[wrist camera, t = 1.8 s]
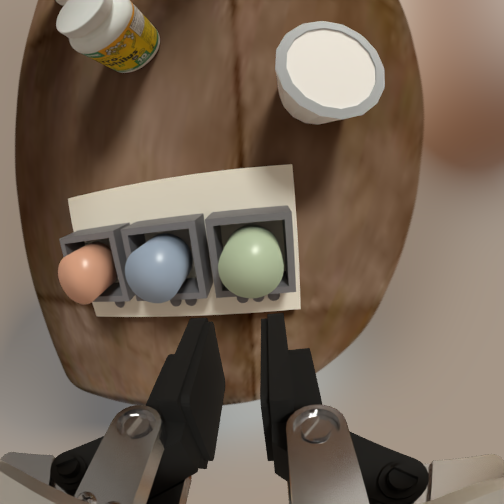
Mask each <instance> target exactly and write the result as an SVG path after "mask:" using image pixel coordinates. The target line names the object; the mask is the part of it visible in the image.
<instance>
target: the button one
mask: <svg viewBox="0 0 504 504" xmlns="http://www.w3.org/2000/svg"><path fill="white" fill-rule="evenodd" d="M58 277H59V281H60V284H61V286H62V288H63V290H64V292H65V293H66V294H67V295H68V296H69V297H70V298H71V299H72V300H73V301H75V302H77V303H80V304H89V303H91V302H93V301H94V300H95V299H96V298H97V297H98V296H99V295H101V294H102V293H103V292H104V291H105V290H106V289H107V288H108V287H109V286H111V285H112V284H113V283H114V282H115V281H116V279H117V277H118V276H117V272H116V268H115V263H114V259H113V255H112V250H111V249H110V248H109V247H108V246H107V245H105V244H103V243H100V242H91V243H89V244H87V245H85V246H83V247H81V248H80V249H78V250H76V251H74V252H72V253H71V254H69V255H67V256H65V257H64V258H63V259H62V260H61V262H60V264H59V268H58Z"/></svg>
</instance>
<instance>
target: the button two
mask: <svg viewBox="0 0 504 504" xmlns="http://www.w3.org/2000/svg"><path fill="white" fill-rule="evenodd" d="M192 264H193V258H192V253H191V250H190V248H189V247H188V245H187V244H186V243H185V242H184V241H183V240H182V239H181V238H179V237H178V236H176V235H173V234H168V233H163V234H159V235H156V236H154V237H153V238H151V239H150V240H149V241H147V242H146V243H144V244H143V245H142V246H140V247H139V248H138V249H136V250H135V251H134V252H132V253H131V254H130V256H129V257H128V259H127V261H126V265H125V276H126V280H127V282H128V285H129V286H130V288H131V289H132V291H133V292H134V293H135V294H136V295H137V296H138V297H140V298H141V299H143V300H145V301H147V302H151V303H163V302H166V301H169V300H170V299H172V298H173V297H174V296H175V295H176V293H177V292H178V290H179V289H180V287H181V285H182V284H183V282H184V281H185V279H186V278H187V276H188V274H189V273H190V271H191V268H192Z"/></svg>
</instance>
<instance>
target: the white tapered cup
mask: <svg viewBox="0 0 504 504" xmlns="http://www.w3.org/2000/svg"><path fill="white" fill-rule="evenodd" d="M275 70H276V77H277V84H278V91H279V96H280V99H281V101H282V104H283V107H284V108H285V109H286V110H287V111H288V112H289V113H290V114H291V115H292V116H293V117H294V118H296V119H298V120H300V121H302V122H304V123H309V124H317V125H319V124H323V123H328V122H332V121H337V120H342V119H346V118H350V117H355V116H359V115H363V114H364V113H365V112H367V111H368V110H369V109H371V108H372V107H373V106H374V105H376V104H377V103H378V100H379V98H380V96H381V94H382V92H383V90H384V87H385V80H384V67H383V65H382V62H381V60H380V58H379V56H378V53H377V51H376V50H375V49H374V48H373V47H372V45H371V44H370V43H369V42H368V41H367V40H366V39H365V38H364V37H363V36H362V35H360V34H359V33H357V32H355V31H353V30H351V29H350V28H348V27H346V26H344V25H341V24H336V23H331V22H325V21H318V22H312V23H306V24H301V25H300V26H298V27H296V28H295V29H293V30H292V31H290V32H289V33H287V34H286V35H285V36H284V38H283V40H282V41H281V43H280V45H279V46H278V48H277V50H276V67H275Z"/></svg>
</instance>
